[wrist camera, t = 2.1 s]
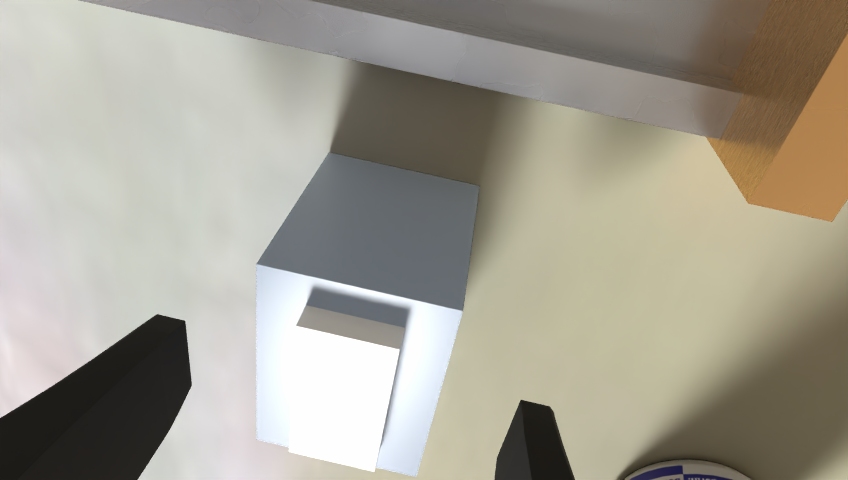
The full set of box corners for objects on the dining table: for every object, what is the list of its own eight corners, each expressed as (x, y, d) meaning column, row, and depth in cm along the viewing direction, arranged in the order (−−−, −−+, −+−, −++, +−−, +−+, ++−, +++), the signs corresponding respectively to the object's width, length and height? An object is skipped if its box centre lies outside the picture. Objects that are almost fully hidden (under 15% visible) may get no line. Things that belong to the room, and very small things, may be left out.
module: (317, 306, 18) (246, 461, 13) (330, 151, 15) (244, 283, 10) (440, 334, 18) (412, 499, 13) (479, 184, 15) (460, 332, 10)
